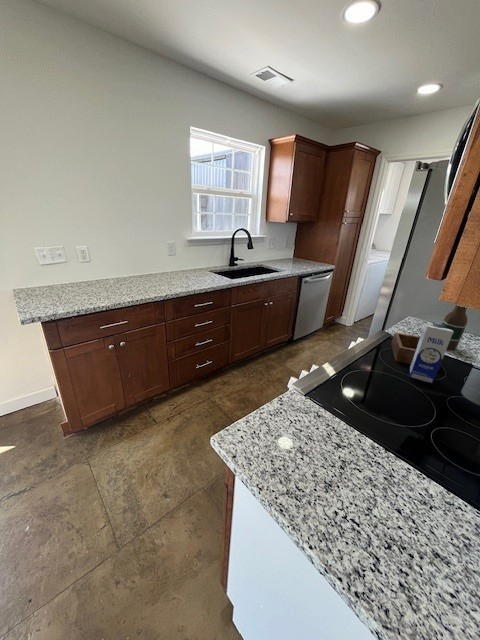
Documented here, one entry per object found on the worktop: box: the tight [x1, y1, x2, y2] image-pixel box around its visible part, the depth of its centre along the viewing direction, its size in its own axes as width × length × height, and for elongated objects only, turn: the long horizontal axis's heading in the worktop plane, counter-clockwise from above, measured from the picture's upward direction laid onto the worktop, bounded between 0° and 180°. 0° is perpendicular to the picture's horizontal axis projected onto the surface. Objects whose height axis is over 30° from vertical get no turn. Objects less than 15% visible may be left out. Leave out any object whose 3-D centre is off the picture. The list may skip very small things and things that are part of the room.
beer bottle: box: [441, 304, 469, 351], centre depth 110 cm, size 8×8×24 cm
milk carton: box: [408, 322, 453, 384], centre depth 90 cm, size 7×7×20 cm
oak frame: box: [390, 332, 445, 371], centre depth 105 cm, size 14×14×6 cm
